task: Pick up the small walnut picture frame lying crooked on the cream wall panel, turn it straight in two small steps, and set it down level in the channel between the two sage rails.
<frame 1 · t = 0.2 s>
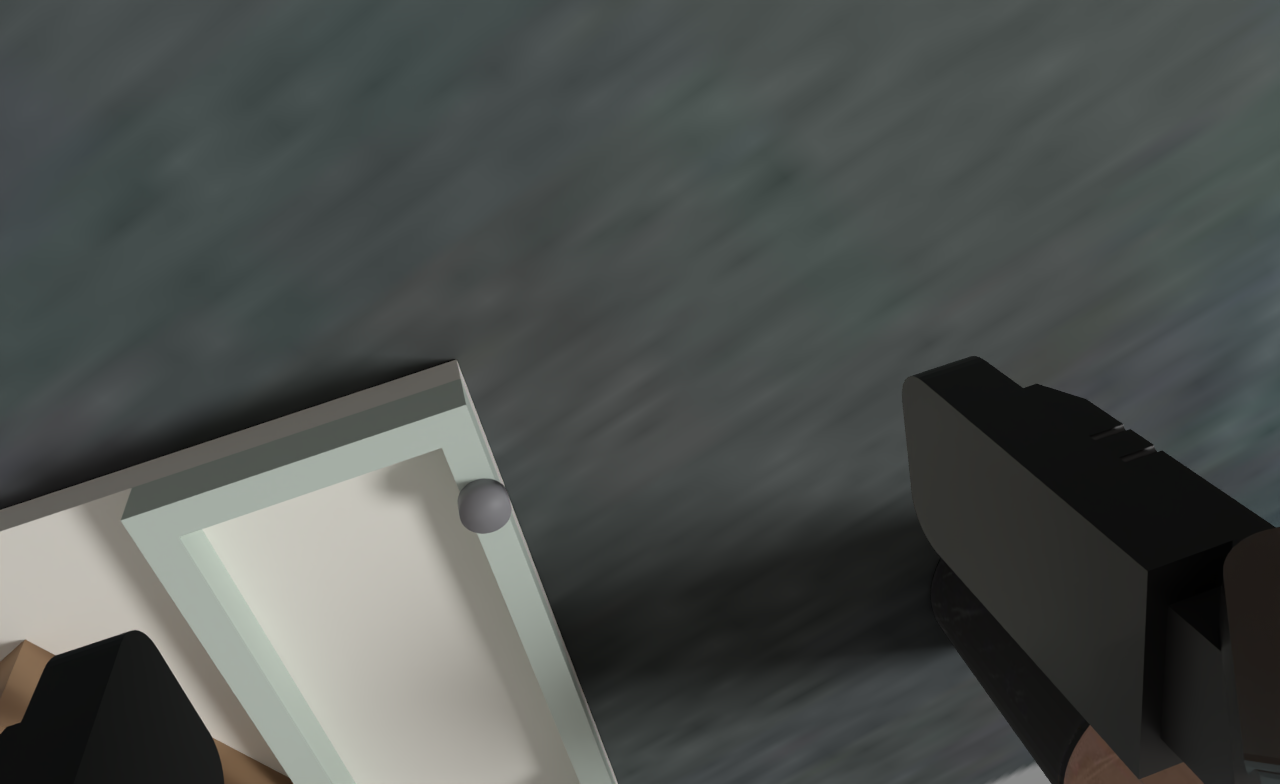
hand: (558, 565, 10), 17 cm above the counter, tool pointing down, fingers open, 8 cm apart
travel mug: (1009, 566, 38), on the counter
frame: (120, 768, 30), point 1 cm above the counter, touching wall panel
wall panel: (282, 708, 32), on the counter
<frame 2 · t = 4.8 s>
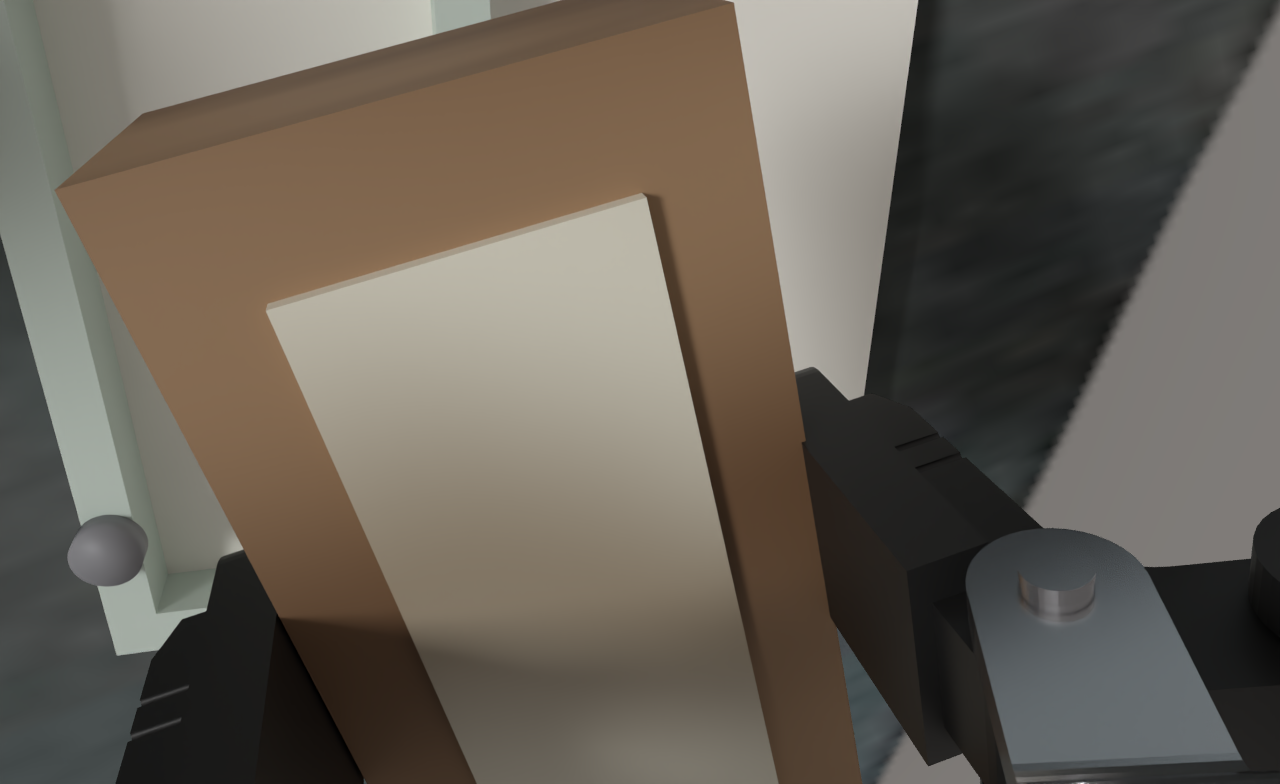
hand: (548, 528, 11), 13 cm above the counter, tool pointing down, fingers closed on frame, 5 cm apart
frame: (533, 460, 12), point 12 cm above the counter, touching gripper
wall panel: (495, 169, 22), on the counter
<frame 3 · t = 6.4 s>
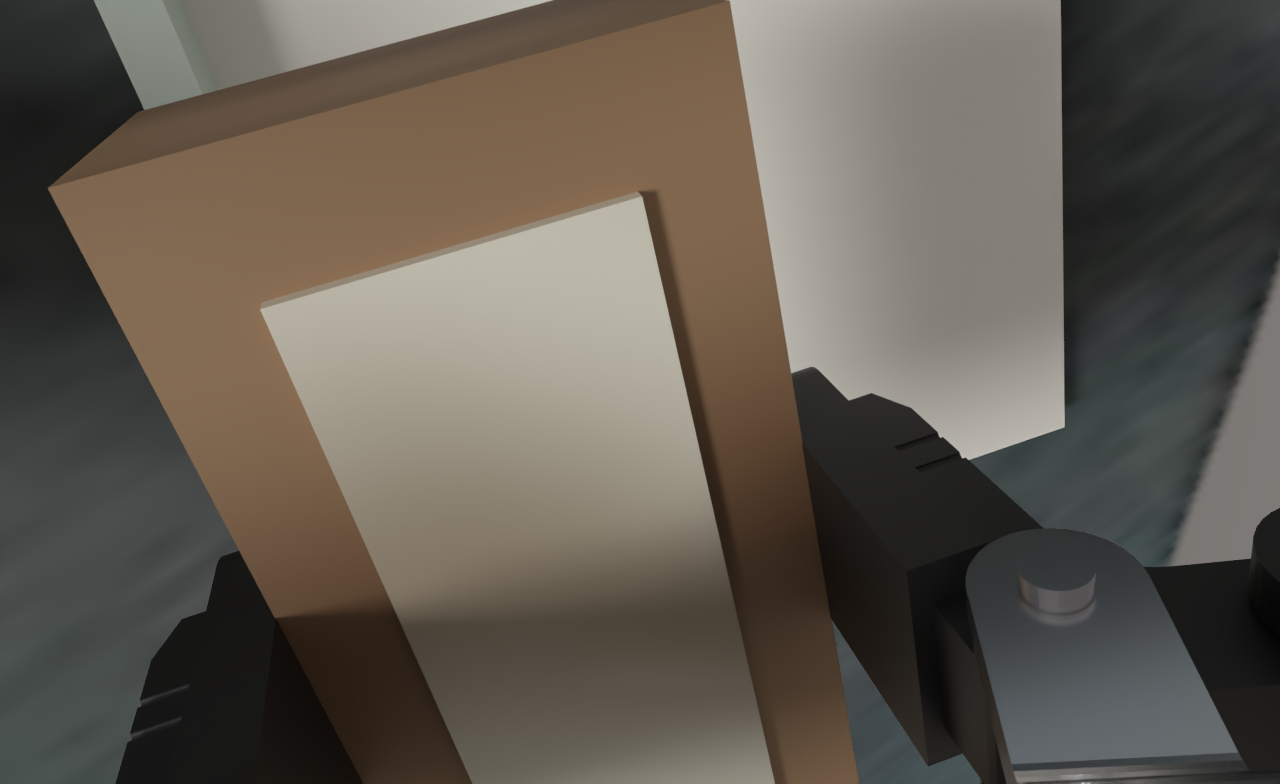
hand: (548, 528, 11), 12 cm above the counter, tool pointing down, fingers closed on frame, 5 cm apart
frame: (530, 460, 12), point 11 cm above the counter, touching gripper
wall panel: (661, 158, 22), on the counter
when the fingers open (3 cm above the counter, at t = 8.5 s): frame stays where it is, resting on wall panel.
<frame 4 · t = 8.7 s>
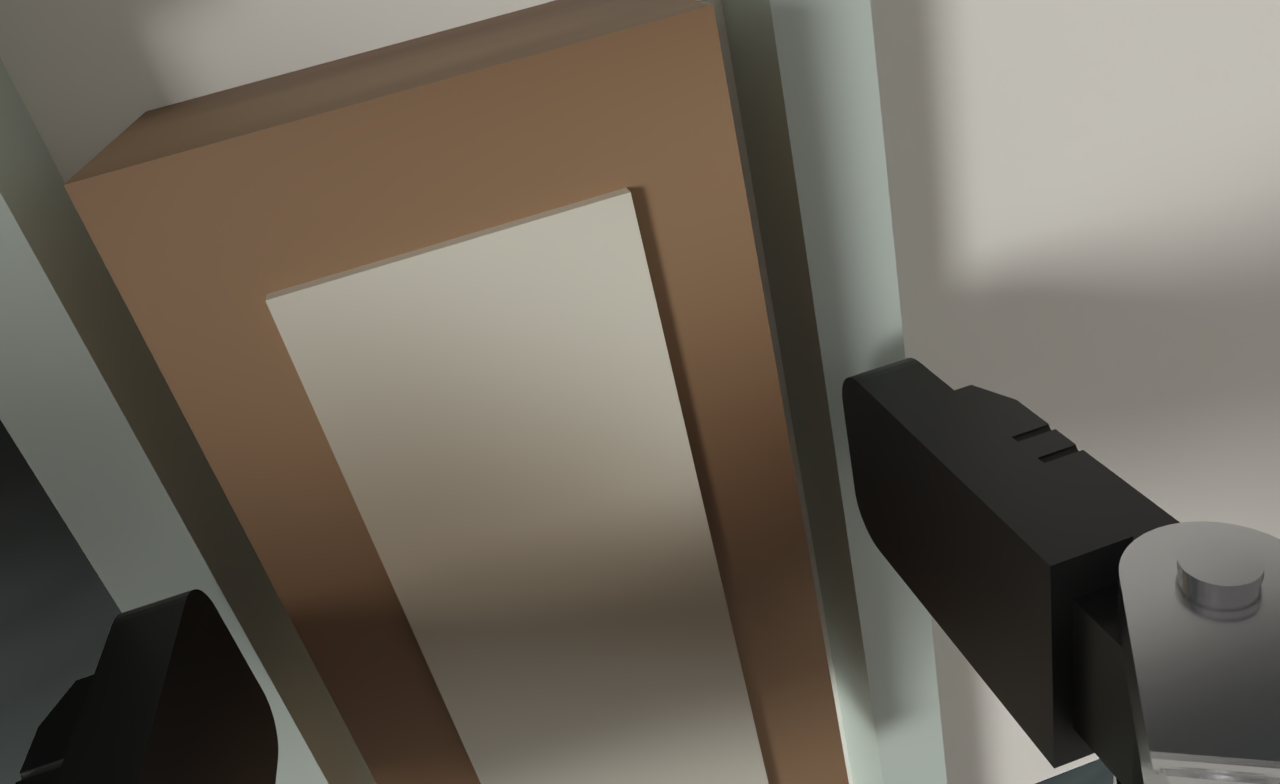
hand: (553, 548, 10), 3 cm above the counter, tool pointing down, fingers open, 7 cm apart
frame: (526, 449, 12), point 1 cm above the counter, touching wall panel
wall panel: (833, 306, 14), on the counter
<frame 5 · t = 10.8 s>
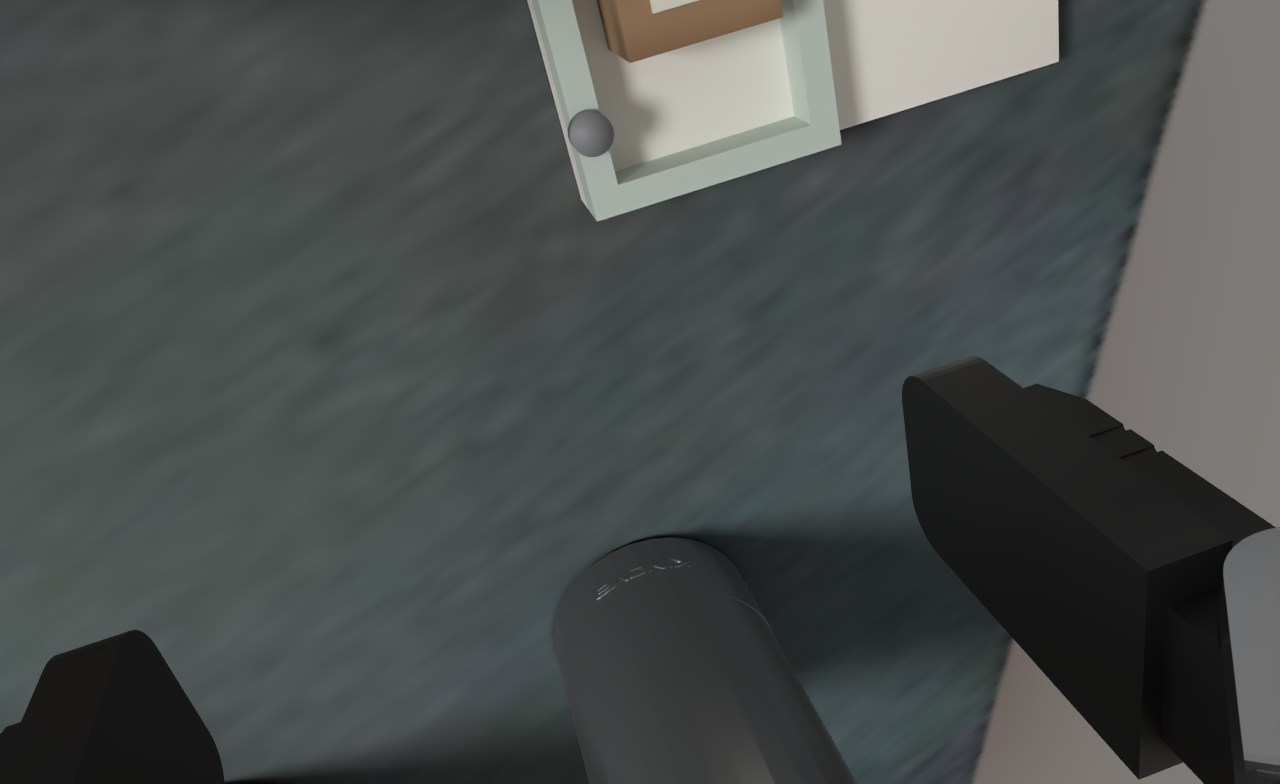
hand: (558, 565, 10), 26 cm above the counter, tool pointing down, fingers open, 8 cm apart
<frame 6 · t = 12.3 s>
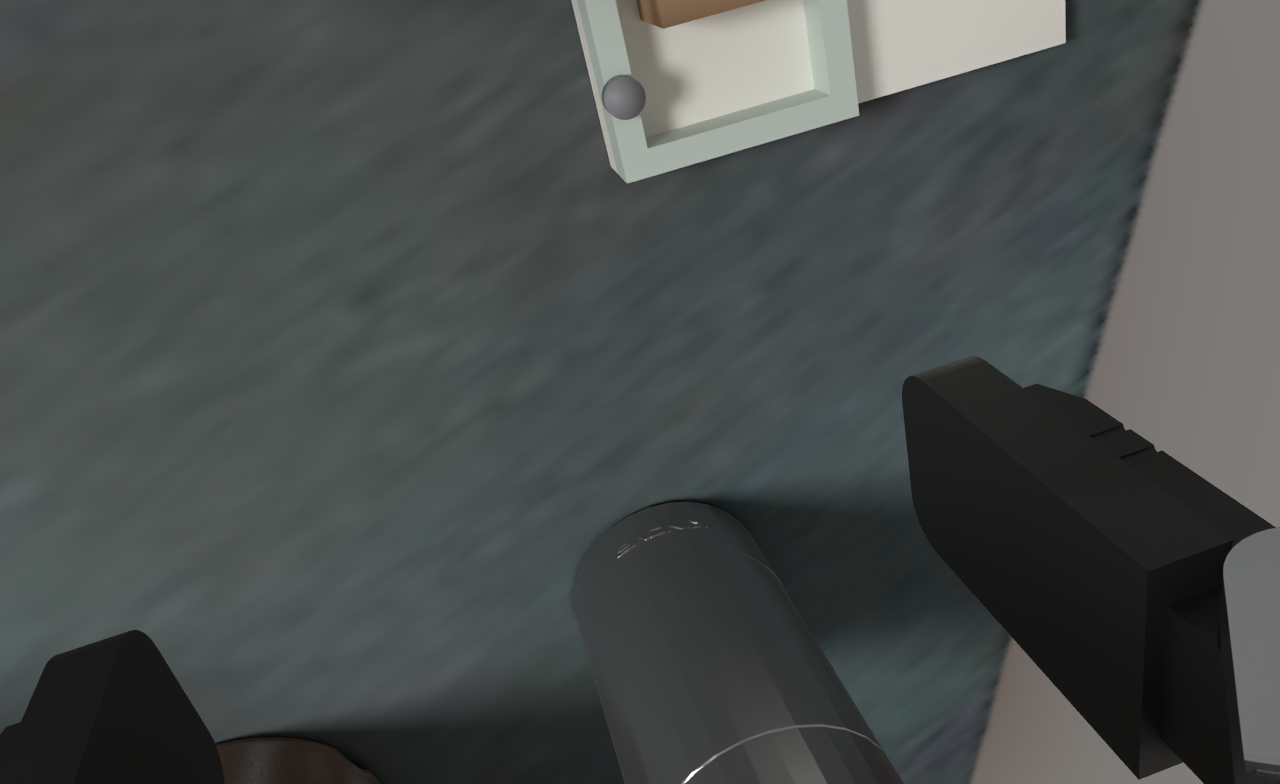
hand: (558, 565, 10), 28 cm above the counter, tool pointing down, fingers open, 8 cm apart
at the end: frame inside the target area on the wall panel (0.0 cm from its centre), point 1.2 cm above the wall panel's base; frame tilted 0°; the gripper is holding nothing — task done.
